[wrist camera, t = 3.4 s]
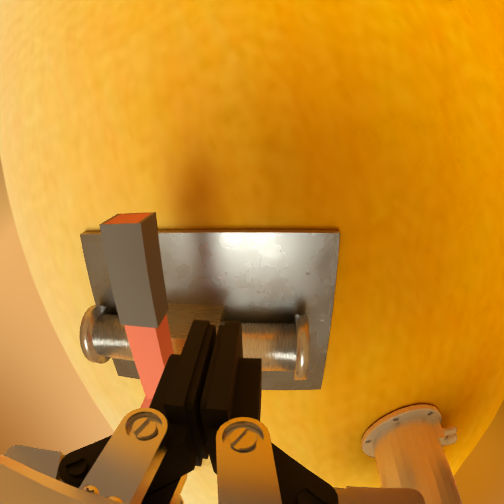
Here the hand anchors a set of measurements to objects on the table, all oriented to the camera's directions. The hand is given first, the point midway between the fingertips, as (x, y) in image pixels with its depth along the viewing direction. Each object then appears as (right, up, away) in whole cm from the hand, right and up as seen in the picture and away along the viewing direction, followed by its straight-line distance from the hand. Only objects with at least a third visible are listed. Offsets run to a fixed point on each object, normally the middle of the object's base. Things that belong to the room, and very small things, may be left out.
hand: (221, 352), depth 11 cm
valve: (-3, -3, +19) cm, 20 cm away
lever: (-5, -2, +8) cm, 10 cm away
